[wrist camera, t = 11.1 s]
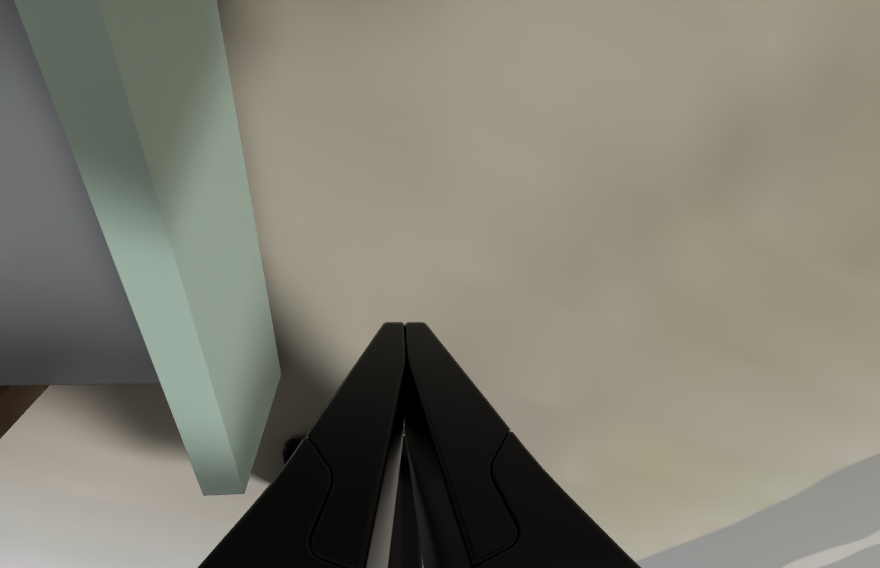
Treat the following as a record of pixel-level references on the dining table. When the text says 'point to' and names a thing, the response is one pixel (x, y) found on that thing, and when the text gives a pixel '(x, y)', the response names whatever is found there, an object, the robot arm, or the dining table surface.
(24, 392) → the dock
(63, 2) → the tray
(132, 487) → the dining table surface
